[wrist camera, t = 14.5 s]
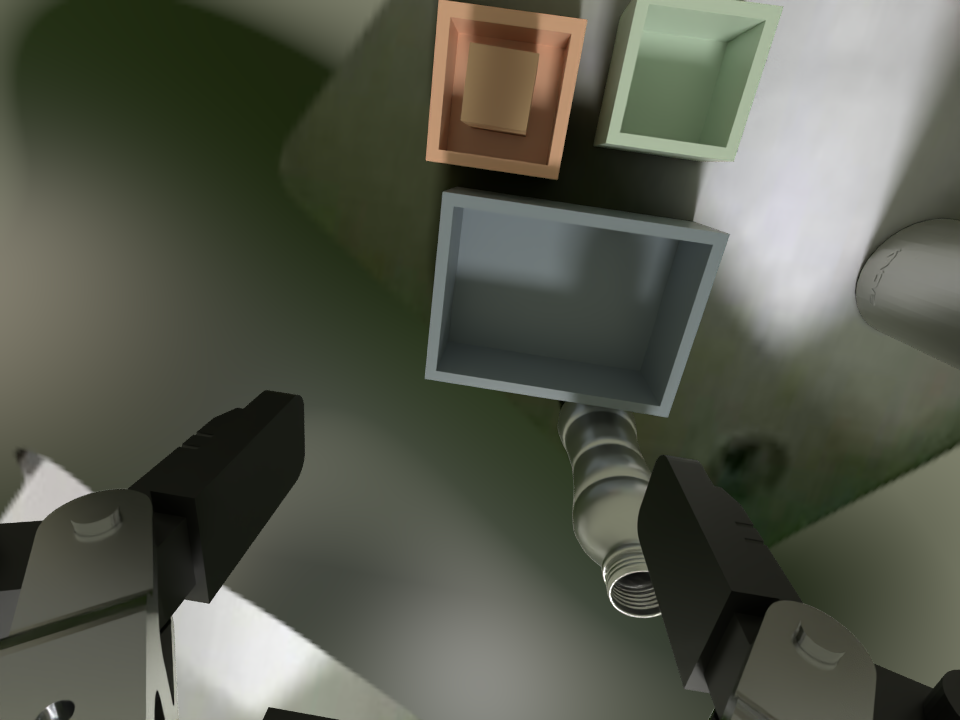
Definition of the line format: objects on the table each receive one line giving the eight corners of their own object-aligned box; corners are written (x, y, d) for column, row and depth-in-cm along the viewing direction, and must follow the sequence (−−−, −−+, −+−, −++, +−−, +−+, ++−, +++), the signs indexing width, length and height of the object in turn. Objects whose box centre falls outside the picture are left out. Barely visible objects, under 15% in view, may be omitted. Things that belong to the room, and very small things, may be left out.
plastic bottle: (573, 370, 42) (612, 531, 24) (642, 395, 42) (733, 574, 24) (544, 427, 45) (559, 612, 26) (610, 451, 45) (669, 650, 27)
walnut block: (536, 74, 33) (539, 53, 27) (525, 137, 35) (525, 131, 28) (480, 65, 33) (470, 42, 27) (472, 128, 35) (460, 120, 28)
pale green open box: (738, 33, 32) (783, 6, 26) (700, 161, 35) (733, 161, 29) (619, 17, 32) (639, -13, 26) (592, 146, 35) (605, 143, 29)
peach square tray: (579, 37, 32) (587, 19, 28) (553, 177, 36) (557, 179, 32) (449, 20, 33) (438, -1, 29) (437, 160, 36) (425, 160, 32)
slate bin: (693, 221, 36) (729, 234, 30) (645, 378, 42) (667, 417, 35) (456, 186, 37) (442, 191, 30) (439, 345, 42) (424, 378, 36)
